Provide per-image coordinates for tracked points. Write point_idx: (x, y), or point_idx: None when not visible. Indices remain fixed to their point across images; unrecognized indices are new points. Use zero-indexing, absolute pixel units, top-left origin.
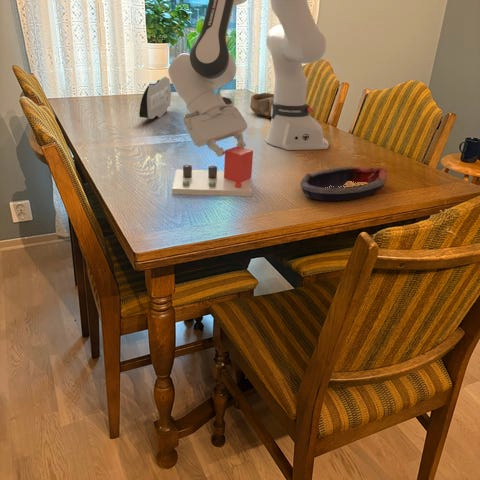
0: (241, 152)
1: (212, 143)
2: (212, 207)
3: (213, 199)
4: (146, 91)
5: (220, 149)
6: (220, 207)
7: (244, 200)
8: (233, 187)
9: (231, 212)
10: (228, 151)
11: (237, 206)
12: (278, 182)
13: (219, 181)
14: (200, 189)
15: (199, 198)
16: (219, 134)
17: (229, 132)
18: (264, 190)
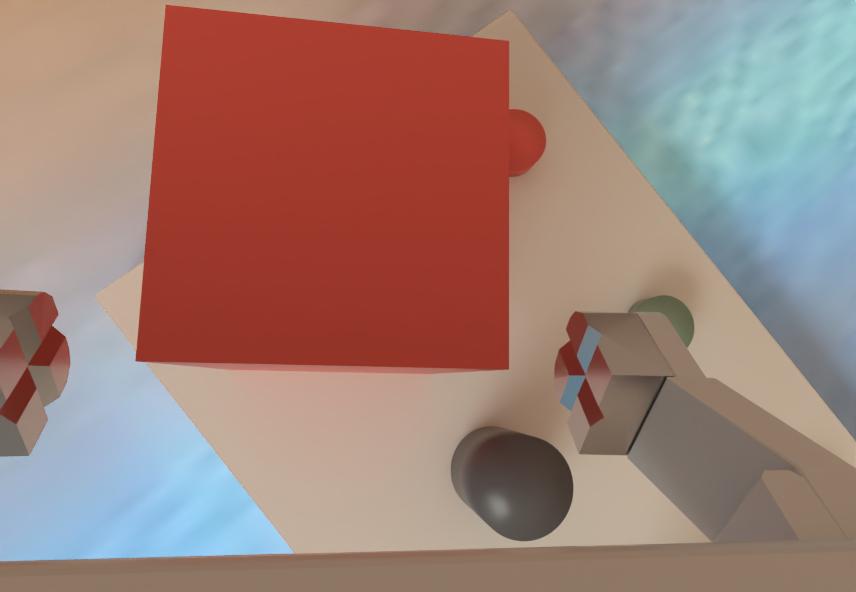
0: (399, 98)
1: (854, 485)
2: (832, 144)
3: (735, 221)
4: None
5: (671, 354)
6: (795, 104)
7: (591, 40)
8: (552, 168)
9: (798, 7)
10: (508, 291)
11: (704, 25)
12: (53, 9)
13: (530, 347)
14: (778, 346)
15: (794, 310)
16: (683, 571)
17: (177, 567)
18: (316, 18)
